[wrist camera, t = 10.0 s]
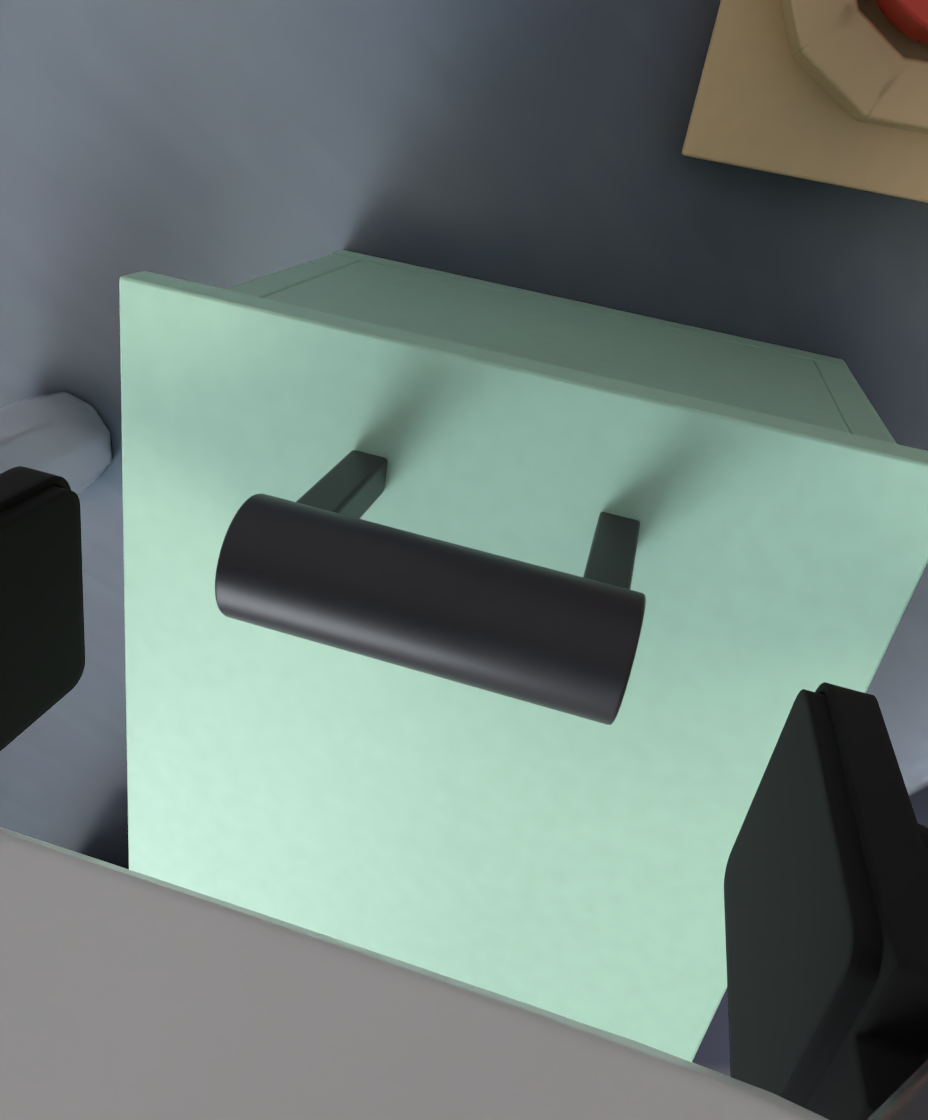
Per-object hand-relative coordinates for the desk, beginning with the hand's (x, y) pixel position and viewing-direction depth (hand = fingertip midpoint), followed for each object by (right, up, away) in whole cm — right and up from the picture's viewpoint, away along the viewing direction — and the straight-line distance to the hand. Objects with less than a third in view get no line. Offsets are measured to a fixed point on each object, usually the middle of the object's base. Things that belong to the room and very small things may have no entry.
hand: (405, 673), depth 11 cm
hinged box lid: (0, -2, +8) cm, 8 cm away
